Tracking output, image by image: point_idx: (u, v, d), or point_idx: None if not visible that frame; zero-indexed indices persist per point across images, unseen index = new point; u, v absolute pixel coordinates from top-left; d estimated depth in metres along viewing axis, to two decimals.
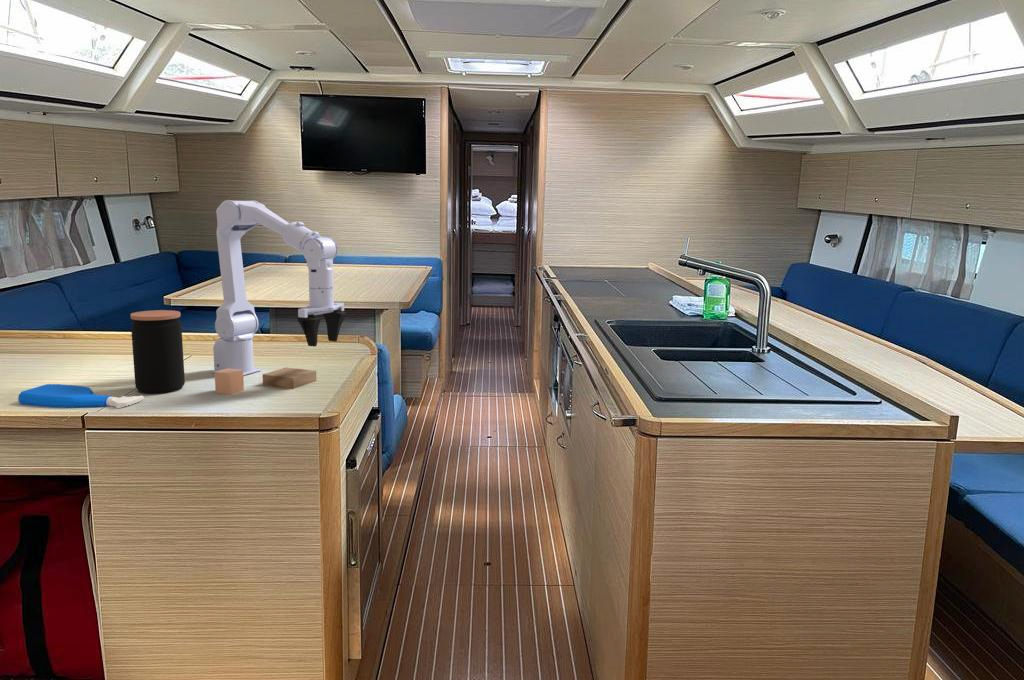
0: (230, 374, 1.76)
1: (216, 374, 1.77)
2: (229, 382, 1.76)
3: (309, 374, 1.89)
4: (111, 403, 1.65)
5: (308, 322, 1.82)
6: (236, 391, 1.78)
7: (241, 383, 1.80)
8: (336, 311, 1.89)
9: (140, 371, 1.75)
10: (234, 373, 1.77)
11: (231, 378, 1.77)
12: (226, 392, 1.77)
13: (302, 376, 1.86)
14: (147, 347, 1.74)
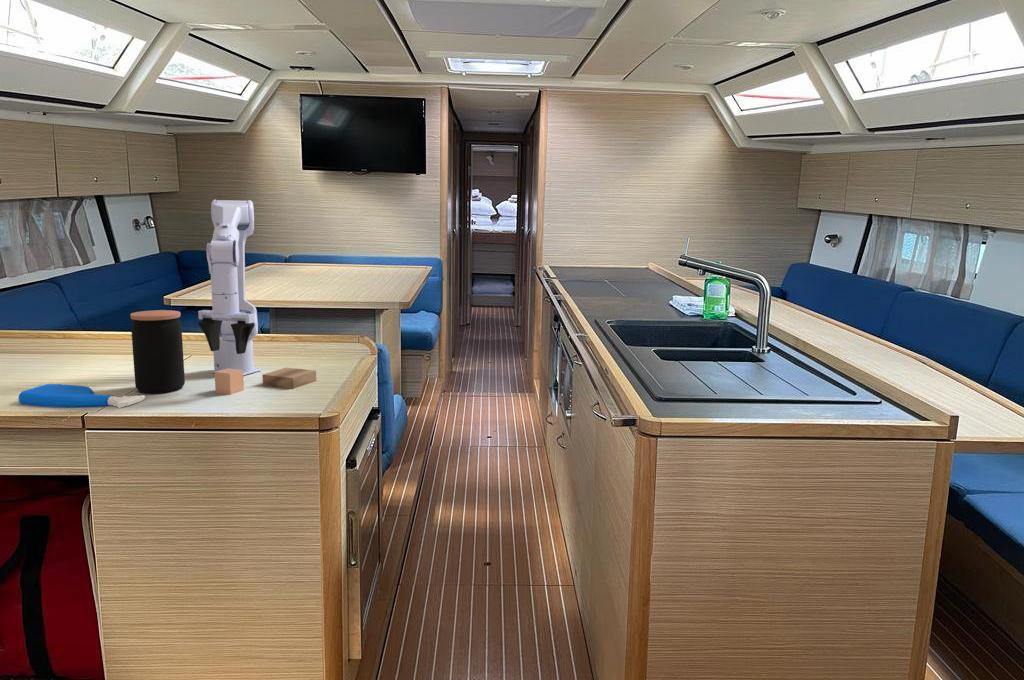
0: (230, 374, 1.76)
1: (216, 374, 1.77)
2: (229, 382, 1.76)
3: (309, 374, 1.89)
4: (112, 403, 1.65)
5: None
6: (236, 391, 1.78)
7: (241, 383, 1.80)
8: (239, 322, 1.74)
9: (140, 371, 1.75)
10: (234, 373, 1.77)
11: (231, 378, 1.77)
12: (226, 392, 1.77)
13: (302, 376, 1.86)
14: (147, 347, 1.74)
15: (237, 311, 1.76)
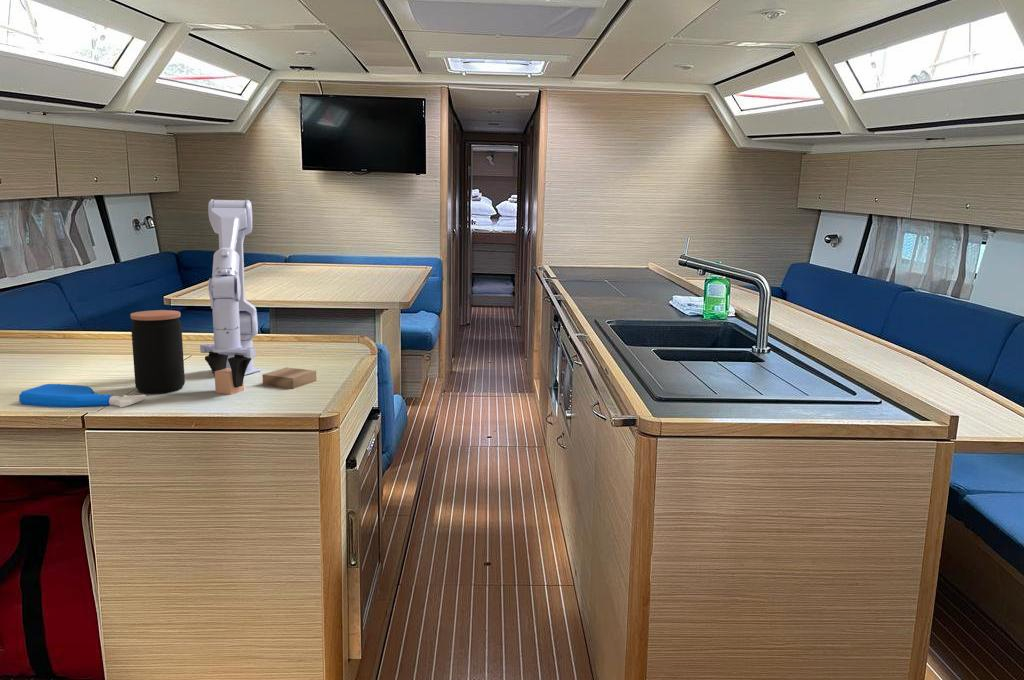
0: (230, 374, 1.76)
1: (216, 374, 1.77)
2: (229, 382, 1.76)
3: (309, 374, 1.88)
4: (114, 402, 1.66)
5: None
6: (236, 391, 1.78)
7: None
8: (236, 356, 1.76)
9: (140, 371, 1.75)
10: None
11: (231, 378, 1.77)
12: (226, 392, 1.77)
13: (302, 376, 1.86)
14: (147, 347, 1.74)
15: (239, 345, 1.77)
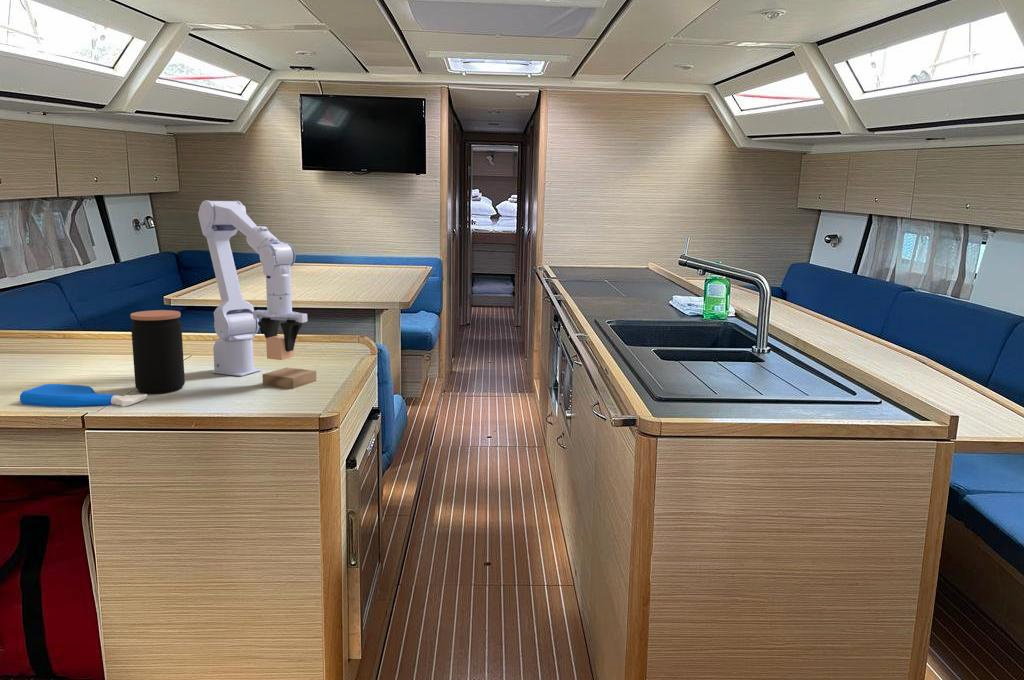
0: (281, 340, 1.83)
1: (267, 340, 1.84)
2: (280, 348, 1.83)
3: (309, 374, 1.88)
4: (116, 401, 1.66)
5: None
6: (287, 357, 1.85)
7: None
8: (288, 321, 1.83)
9: (140, 371, 1.75)
10: None
11: (282, 344, 1.83)
12: (277, 357, 1.84)
13: (302, 376, 1.86)
14: (148, 347, 1.74)
15: (290, 311, 1.84)
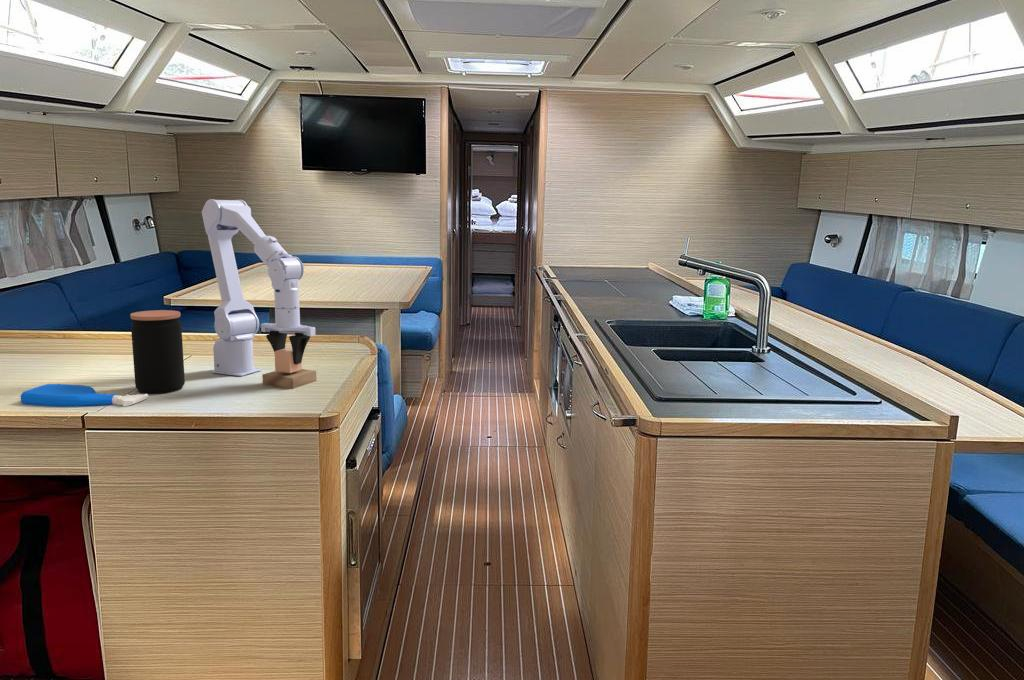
0: (290, 353, 1.85)
1: (276, 353, 1.86)
2: (289, 361, 1.85)
3: (309, 374, 1.88)
4: (117, 401, 1.66)
5: None
6: (295, 369, 1.87)
7: None
8: (296, 334, 1.85)
9: (140, 371, 1.75)
10: None
11: (291, 357, 1.85)
12: (286, 370, 1.86)
13: (302, 376, 1.86)
14: (147, 347, 1.74)
15: (298, 324, 1.86)
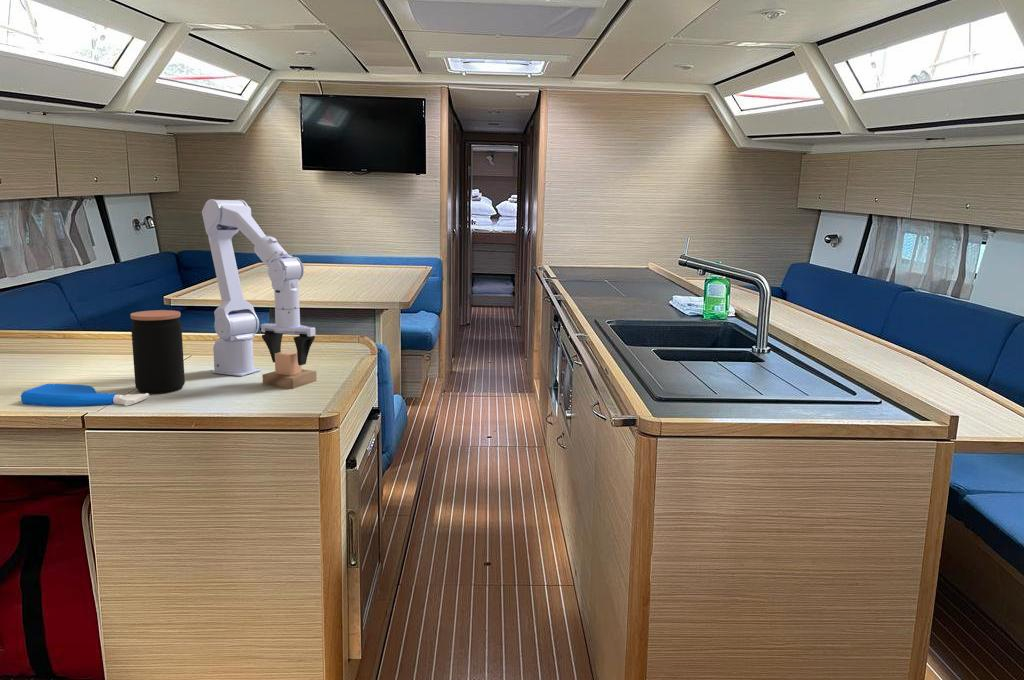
0: (290, 356, 1.85)
1: (276, 356, 1.86)
2: (289, 363, 1.85)
3: (309, 374, 1.88)
4: (118, 401, 1.67)
5: None
6: (295, 372, 1.87)
7: None
8: (301, 335, 1.84)
9: (140, 371, 1.75)
10: (294, 355, 1.86)
11: (291, 360, 1.85)
12: (286, 373, 1.86)
13: (302, 376, 1.86)
14: (148, 347, 1.74)
15: (298, 325, 1.86)
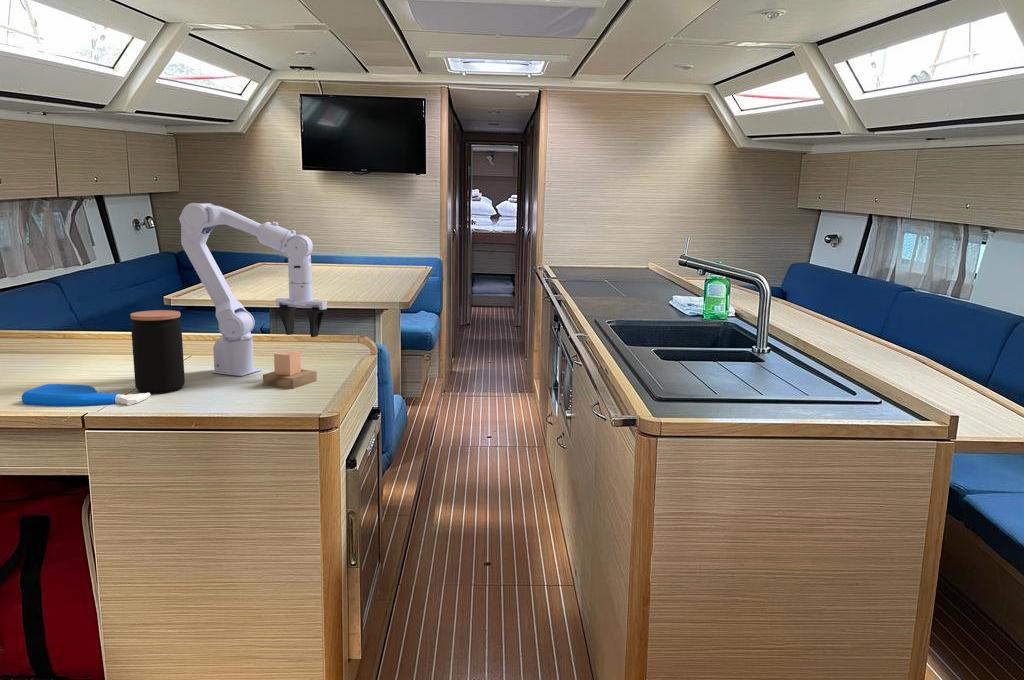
0: (290, 356, 1.85)
1: (275, 356, 1.86)
2: (289, 363, 1.85)
3: (309, 374, 1.89)
4: (120, 400, 1.67)
5: None
6: (294, 372, 1.87)
7: (299, 364, 1.89)
8: (313, 308, 1.94)
9: (140, 371, 1.75)
10: (293, 355, 1.86)
11: (291, 360, 1.85)
12: (285, 373, 1.86)
13: (302, 376, 1.86)
14: (147, 347, 1.74)
15: (311, 299, 1.96)
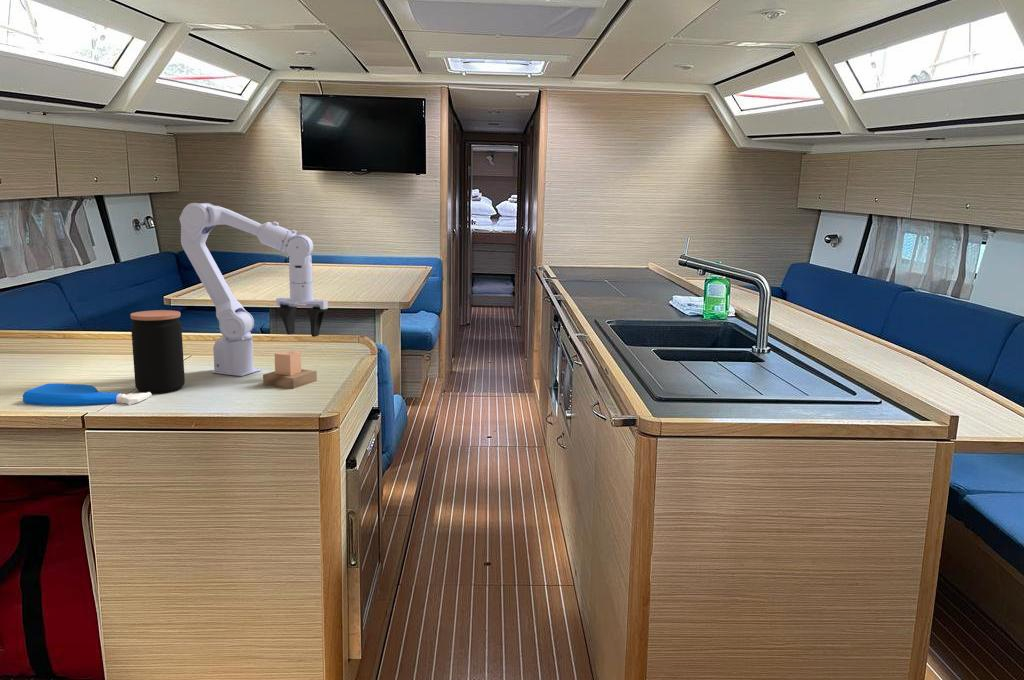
0: (290, 356, 1.85)
1: (276, 356, 1.86)
2: (289, 363, 1.85)
3: (309, 374, 1.89)
4: (121, 400, 1.67)
5: None
6: (295, 372, 1.87)
7: (299, 364, 1.89)
8: (314, 308, 1.95)
9: (140, 371, 1.75)
10: (293, 355, 1.86)
11: (291, 360, 1.85)
12: (286, 373, 1.86)
13: (302, 376, 1.86)
14: (147, 347, 1.74)
15: (312, 298, 1.97)
